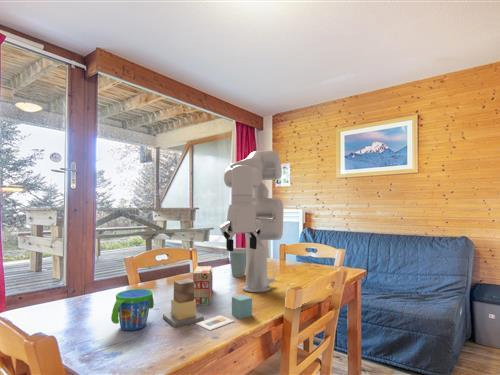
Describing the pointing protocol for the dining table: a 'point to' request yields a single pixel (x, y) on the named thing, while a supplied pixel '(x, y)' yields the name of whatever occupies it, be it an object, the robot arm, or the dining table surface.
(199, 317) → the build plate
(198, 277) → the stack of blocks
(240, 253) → the disposable coffee cup
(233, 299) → the teal brick
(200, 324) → the tile
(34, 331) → the dining table surface
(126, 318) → the snack cup
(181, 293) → the walnut brick
